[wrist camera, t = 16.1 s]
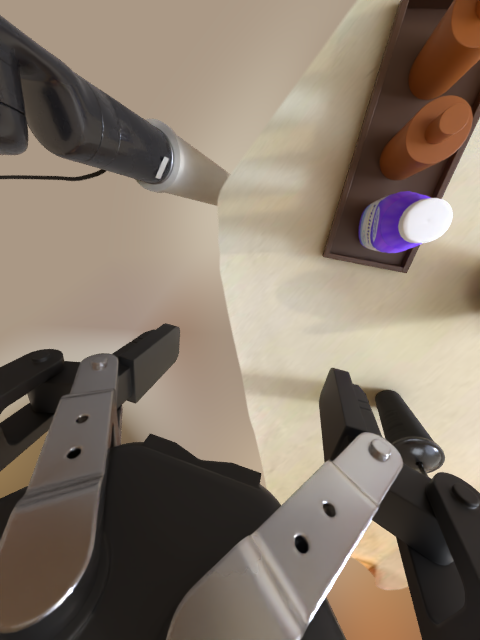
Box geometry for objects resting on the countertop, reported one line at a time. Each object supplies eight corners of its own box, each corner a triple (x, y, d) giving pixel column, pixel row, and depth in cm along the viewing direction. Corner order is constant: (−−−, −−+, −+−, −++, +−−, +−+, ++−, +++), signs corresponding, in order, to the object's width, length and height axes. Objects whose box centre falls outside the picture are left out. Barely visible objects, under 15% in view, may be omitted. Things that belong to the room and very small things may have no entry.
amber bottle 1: (400, 98, 31) (456, 21, 20) (421, 37, 29) (500, -92, 17) (448, 101, 30) (537, 23, 19) (474, 38, 28) (596, -97, 16)
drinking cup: (383, 418, 51) (427, 523, 33) (360, 396, 50) (391, 490, 32) (417, 402, 47) (486, 509, 29) (392, 378, 47) (447, 472, 29)
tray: (322, 255, 42) (323, 256, 40) (399, 2, 29) (405, -13, 27) (402, 271, 39) (406, 273, 37) (525, 3, 26) (541, -14, 25)
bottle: (359, 202, 37) (400, 182, 21) (399, 198, 35) (475, 174, 20) (354, 248, 39) (387, 262, 24) (391, 247, 38) (452, 260, 22)
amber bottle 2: (372, 177, 35) (406, 152, 24) (389, 129, 33) (436, 75, 21) (414, 183, 34) (471, 159, 23) (435, 134, 32) (510, 79, 20)
